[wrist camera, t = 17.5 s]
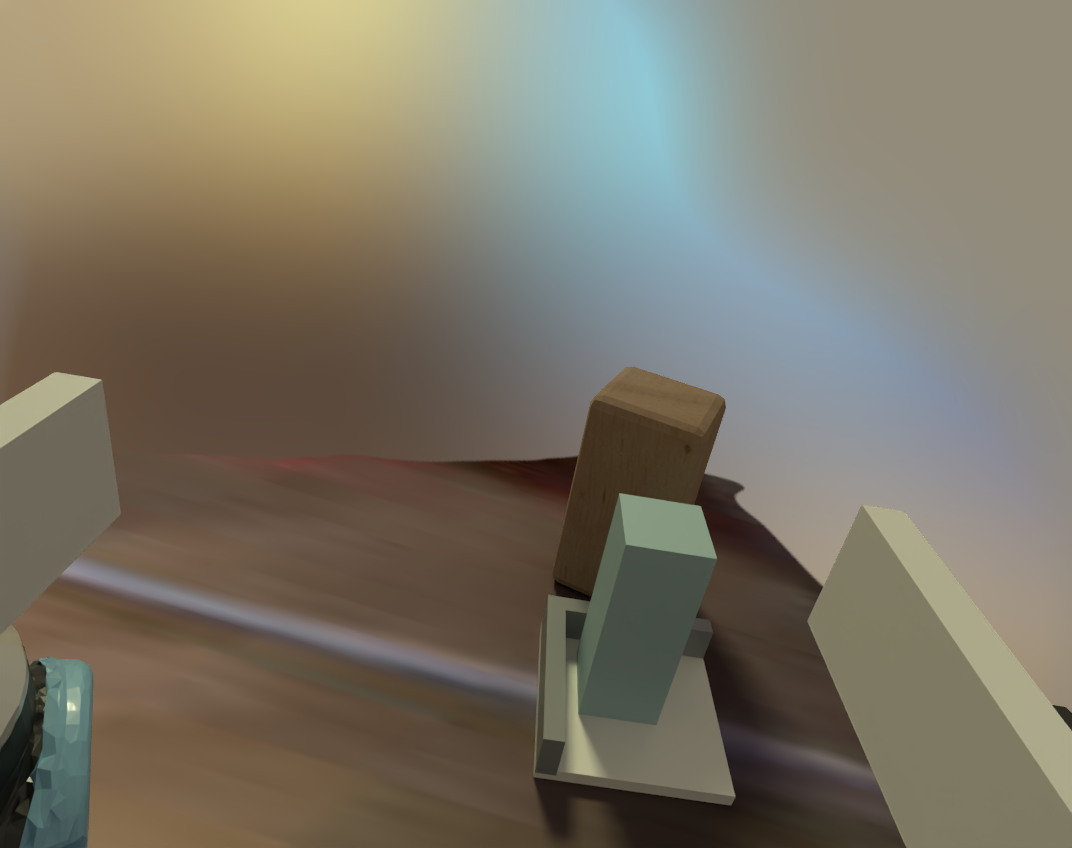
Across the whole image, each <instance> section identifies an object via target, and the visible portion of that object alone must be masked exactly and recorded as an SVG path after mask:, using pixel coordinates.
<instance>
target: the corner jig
mask: <svg viewBox="0 0 1072 848" xmlns="http://www.w3.org/2000/svg"><path fill="white" fill-rule="evenodd" d="M589 605H590V601H584V600H578V599H571V598H565V597H559V596H552V595H548V597H547V602H546V606H545V611H544V615H543V619H542V624H541V628H540V644H539V666H538V688H537V710H536V732H535V754H534V776H533V777H536V778H543V779H550V780H557V781H564V782H571V783H577V784H584V785H591V786H598V787H605V788H612V789H619V790H626V791H633V792H640V793H647V794H654V795H661V796H668V797H675V798H682V799H689V800H696V801H703V802H709V803H716V804H723V805H730V806H731V805H732V803H733V801H734V799H735V793H734V789H733V784H732V780H731V776H730V771H729V767H728V763H727V758H726V754H725V750H724V746H723V741H722V737H721V733H720V728H719V724H718V720H717V715H716V711H715V707H714V703H713V698H712V694H711V690H710V685H709V681H708V677H707V673H706V668H705V664H704V660H703V658H704V655H705V653H706V650H707V648H708V645H709V643H710V640H711V637H712V635H713V630H712V626H711V622H710V620H707V619H700V618H695V621H694V624H693V626H692V629H691V632H690V635H689V637H688V640H687V643H686V645H685V648H684V651H683V654H682V656H681V659H680V662H679V665H678V667H677V670H676V673H675V676H674V678H673V681H672V684H671V687H670V689H669V692H668V695H667V697H666V700H665V703H664V706H663V708H662V711H661V714H660V717H659V719H658V722H657V725H650V724H644V723H637V722H630V721H623V720H616V719H610V718H603V717H596V716H589V715H582V714H578V695H577V650H578V646H579V642H580V639H581V635H582V631H583V627H584V624H585V620H586V616H587V612H588V609H589Z"/></svg>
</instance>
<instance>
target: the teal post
mask: <svg viewBox="0 0 1072 848" xmlns="http://www.w3.org/2000/svg"><path fill="white" fill-rule="evenodd" d="M716 561H717V557H716V554H715V551H714V547H713V544H712V541H711V538H710V535H709V531H708V528H707V525H706V522H705V518H704V515H703V512H702V509H701V506H696V505H690V504H683V503H677V502H671V501H665V500H659V499H652V498H646V497H640V496H634V495H628V494H622V493H619V496H618V500H617V504H616V507H615V511H614V515H613V519H612V522H611V526H610V530H609V534H608V537H607V541H606V545H605V549H604V552H603V556H602V560H601V564H600V567H599V571H598V575H597V579H596V582H595V586H594V590H593V594H592V597H591V601H590V605H589V609H588V612H587V616H586V620H585V624H584V627H583V631H582V635H581V639H580V642H579V646H578V650H577V695H578V714H582V715H589V716H596V717H603V718H610V719H616V720H623V721H630V722H637V723H644V724H650V725H657V722H658V719H659V717H660V714H661V711H662V708H663V706H664V703H665V700H666V697H667V695H668V692H669V689H670V687H671V684H672V681H673V678H674V676H675V673H676V670H677V667H678V665H679V662H680V659H681V656H682V654H683V651H684V648H685V645H686V643H687V640H688V637H689V635H690V632H691V629H692V626H693V624H694V621H695V618H696V615H697V613H698V610H699V607H700V604H701V602H702V599H703V596H704V594H705V591H706V588H707V585H708V583H709V580H710V577H711V574H712V572H713V569H714V566H715V563H716Z"/></svg>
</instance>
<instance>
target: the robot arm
mask: <svg viewBox="0 0 1072 848" xmlns="http://www.w3.org/2000/svg"><path fill="white" fill-rule="evenodd" d="M120 514H121V512H120V505H119V497H118V490H117V483H116V476H115V469H114V462H113V455H112V448H111V440H110V434H109V426H108V420H107V412H106V405H105V398H104V391H103V383H102V380H100V379H94V378H88V377H82V376H76V375H70V374H63V373H57V372H55V373H53V374H51V375H50V376H48V377H46V378H45V379H43V380H41V381H40V382H38V383H36V384H35V385H33V386H31V387H30V388H28V389H26V390H25V391H23V392H21V393H20V394H18V395H16V396H15V397H13V398H11V399H9V400H8V401H6V402H4V403H3V404H1V405H0V848H88V828H89V798H90V765H91V735H92V707H93V673H92V670H91V667H90V665H88V664H87V663H85V662H83V661H81V660H79V659H66V660H58V659H56V658H53V657H47V658H41V659H38V660H36V661H34V662H33V663H32V664H31V665H30V666H29V664H28V660H27V656H26V652H25V649H24V646H23V645H22V642H21V640H20V637H19V634H18V633H17V631H16V630H15V629H14V627H13V626H12V625H11V624H12V623H13V622H14V621H15V620H16V619H17V618H18V617H19V616H20V615H21V614H22V613H23V612H24V611H25V610H26V609H27V608H28V607H29V606H30V605H31V604H32V603H33V602H34V601H35V600H36V599H37V598H38V597H39V596H40V595H41V594H42V593H43V592H44V591H45V590H46V589H47V588H48V587H49V586H50V585H51V584H52V583H53V582H54V581H55V580H56V579H57V578H58V577H59V576H60V575H61V574H62V573H63V572H64V571H65V570H66V569H67V568H68V567H69V566H70V565H71V564H72V563H73V562H74V561H75V560H76V559H77V558H78V557H79V556H80V555H81V554H82V553H83V552H84V551H85V550H86V549H87V548H88V547H89V546H90V545H91V544H92V543H93V542H94V540H95V539H96V538H97V537H98V536H99V535H100V534H101V533H102V532H103V531H104V530H105V529H106V528H107V527H108V526H109V525H110V524H111V523H112V522H113V521H114V520H115V519H116V518H117V517H118V516H119V515H120ZM807 622H808V624H809V626H810V628H811V631H812V633H813V635H814V638H815V640H816V642H817V644H818V647H819V649H820V651H821V654H822V656H823V658H824V660H825V663H826V665H827V667H828V670H829V672H830V674H831V677H832V679H833V681H834V683H835V686H836V688H837V690H838V693H839V695H840V697H841V699H842V702H843V704H844V706H845V709H846V711H847V713H848V715H849V718H850V720H851V722H852V725H853V727H854V729H855V731H856V734H857V736H858V738H859V741H860V743H861V745H862V747H863V750H864V752H865V754H866V757H867V759H868V761H869V763H870V766H871V768H872V770H873V773H874V775H875V777H876V779H877V782H878V784H879V786H880V789H881V791H882V793H883V796H884V798H885V800H886V802H887V805H888V807H889V809H890V812H891V814H892V816H893V818H894V821H895V823H896V825H897V828H898V830H899V832H900V834H901V837H902V839H903V841H904V844H905V846H906V848H1072V713H1071V712H1070V711H1069V710H1068V709H1067V708H1065V707H1061V706H1055V705H1051V703H1050V702H1049V701H1048V699H1047V698H1046V697H1045V695H1044V694H1043V693H1042V691H1041V690H1040V689H1039V687H1038V686H1037V685H1036V684H1035V682H1034V681H1033V680H1032V678H1031V677H1030V676H1029V674H1028V673H1027V672H1026V671H1025V669H1024V668H1023V666H1022V665H1021V664H1020V663H1019V661H1018V660H1017V659H1016V657H1015V656H1014V655H1013V653H1012V652H1011V651H1010V649H1009V648H1008V647H1007V646H1006V644H1005V643H1004V642H1003V640H1002V639H1001V638H1000V636H999V635H998V634H997V633H996V631H995V630H994V629H993V627H992V626H991V625H990V623H989V622H988V621H987V619H986V618H985V617H984V615H983V614H982V613H981V612H980V610H979V609H978V608H977V606H976V605H975V604H974V602H973V601H972V600H971V598H970V597H969V596H968V595H967V593H966V592H965V591H964V590H963V588H962V587H961V585H960V584H959V583H958V581H957V580H956V579H955V578H954V576H953V575H952V574H951V572H950V571H949V570H948V568H947V567H946V566H945V564H944V563H943V562H942V560H941V559H940V558H939V557H938V555H937V554H936V553H935V551H934V550H933V549H932V547H931V546H930V545H929V543H928V542H927V541H926V539H925V538H924V537H923V535H922V534H921V533H920V532H919V530H918V529H917V528H916V526H915V525H914V524H913V522H912V521H911V520H910V519H909V517H908V516H907V515H906V513H905V512H904V511H898V510H892V509H886V508H880V507H874V506H868V505H862V506H861V508H860V510H859V512H858V514H857V516H856V518H855V521H854V523H853V525H852V527H851V529H850V531H849V534H848V536H847V538H846V540H845V542H844V544H843V546H842V548H841V550H840V553H839V555H838V557H837V559H836V562H835V563H834V565H833V568H832V570H831V572H830V574H829V576H828V579H827V581H826V583H825V585H824V587H823V589H822V591H821V593H820V595H819V597H818V600H817V602H816V604H815V606H814V608H813V610H812V612H811V615H810V617H809V619H808V621H807Z"/></svg>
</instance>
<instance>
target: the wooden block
mask: <svg viewBox="0 0 1072 848" xmlns="http://www.w3.org/2000/svg"><path fill="white" fill-rule="evenodd" d="M725 408H726V406H725V399H724V398H722V397H721V396H719V395H718V394H715V393H712V392H709V391H706V390H703V389H699V388H697V387H693V386H690V385H687V384H684V383H681V382H678V381H675V380H672V379H669V378H666V377H663V376H660V375H657V374H654V373H651V372H647V371H645V370H641V369H638V368H635V367H626V368H625V369H624V370H623V371H622V372H620V373H619V374H618V375H617V376H616V377H615V378H614V379H613V380H612V381H611V382H610V383H609V384H607V385H606V386H605V387H604V388H603V389H602V390H601V391H600V392H599V393H598V394H597V395H596V396H595V397H594V398H593V400H592V401H591V403H590V407H589V412H588V416H587V421H586V425H585V430H584V434H583V438H582V443H581V447H580V451H579V456H578V460H577V465H576V469H575V473H574V478H573V482H572V487H571V491H570V495H569V500H568V504H567V509H566V513H565V517H564V522H563V526H562V531H561V535H560V539H559V544H558V548H557V553H556V557H555V561H554V566H553V578H554V579H555V580H556V581H557V582H558V583H561V584H563V585H565V586H567V587H570V588H572V589H574V590H576V591H579V592H581V593H583V594H585V595H588V596H590V597H592V594H593V590H594V586H595V582H596V579H597V575H598V571H599V567H600V564H601V560H602V556H603V552H604V549H605V545H606V541H607V537H608V534H609V530H610V526H611V522H612V519H613V515H614V511H615V507H616V504H617V500H618V496H619V493H622V494H628V495H634V496H640V497H646V498H652V499H659V500H665V501H671V502H677V503H683V504H690V505H694V502H695V499H696V496H697V493H698V490H699V487H700V484H701V481H702V478H703V475H704V472H705V469H706V466H707V463H708V460H709V457H710V454H711V451H712V448H713V445H714V442H715V439H716V436H717V433H718V430H719V427H720V424H721V421H722V418H723V415H724V412H725Z"/></svg>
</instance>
